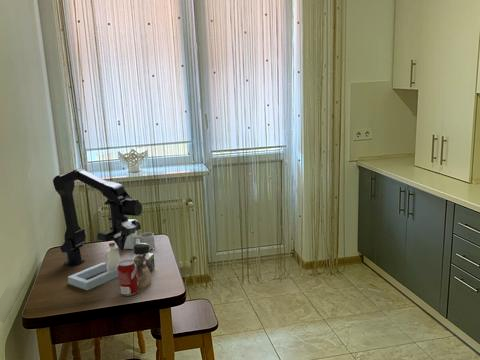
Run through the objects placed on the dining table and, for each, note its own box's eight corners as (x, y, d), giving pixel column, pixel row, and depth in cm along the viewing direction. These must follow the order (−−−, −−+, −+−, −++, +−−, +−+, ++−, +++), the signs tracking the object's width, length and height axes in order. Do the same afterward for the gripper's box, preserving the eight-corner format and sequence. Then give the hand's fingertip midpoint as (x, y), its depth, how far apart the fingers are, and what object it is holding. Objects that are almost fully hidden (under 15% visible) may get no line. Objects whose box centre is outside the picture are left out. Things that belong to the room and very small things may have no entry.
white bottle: (106, 271, 199) (103, 244, 197) (116, 267, 203) (112, 241, 201) (114, 274, 196) (110, 246, 194) (123, 270, 200) (120, 242, 198)
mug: (157, 246, 227) (155, 232, 226) (152, 251, 221) (150, 237, 219) (137, 245, 229) (135, 232, 228) (131, 250, 223) (130, 237, 221)
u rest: (68, 283, 189) (67, 276, 189) (104, 268, 203) (103, 262, 202) (87, 290, 182) (86, 283, 182) (122, 274, 195) (121, 267, 195)
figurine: (131, 282, 187) (128, 253, 185) (149, 278, 190) (146, 249, 188) (135, 289, 181) (131, 259, 178) (153, 285, 184) (150, 255, 181)
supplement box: (118, 249, 226) (115, 223, 223) (124, 243, 233) (121, 218, 230) (132, 249, 224) (130, 223, 222) (138, 244, 231) (136, 218, 229)
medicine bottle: (148, 276, 192) (145, 247, 190) (132, 275, 194) (129, 247, 191) (155, 269, 199) (152, 241, 197) (139, 268, 201) (136, 241, 198)
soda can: (129, 298, 174) (126, 267, 171) (116, 294, 177) (112, 264, 175) (142, 290, 179) (139, 260, 177) (129, 287, 183) (126, 257, 180)
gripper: (112, 223, 186) (116, 261, 190) (148, 211, 201) (151, 246, 204) (94, 219, 193) (98, 256, 196) (130, 208, 208) (133, 242, 211)
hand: (121, 250), depth 202 cm, fingers closed
